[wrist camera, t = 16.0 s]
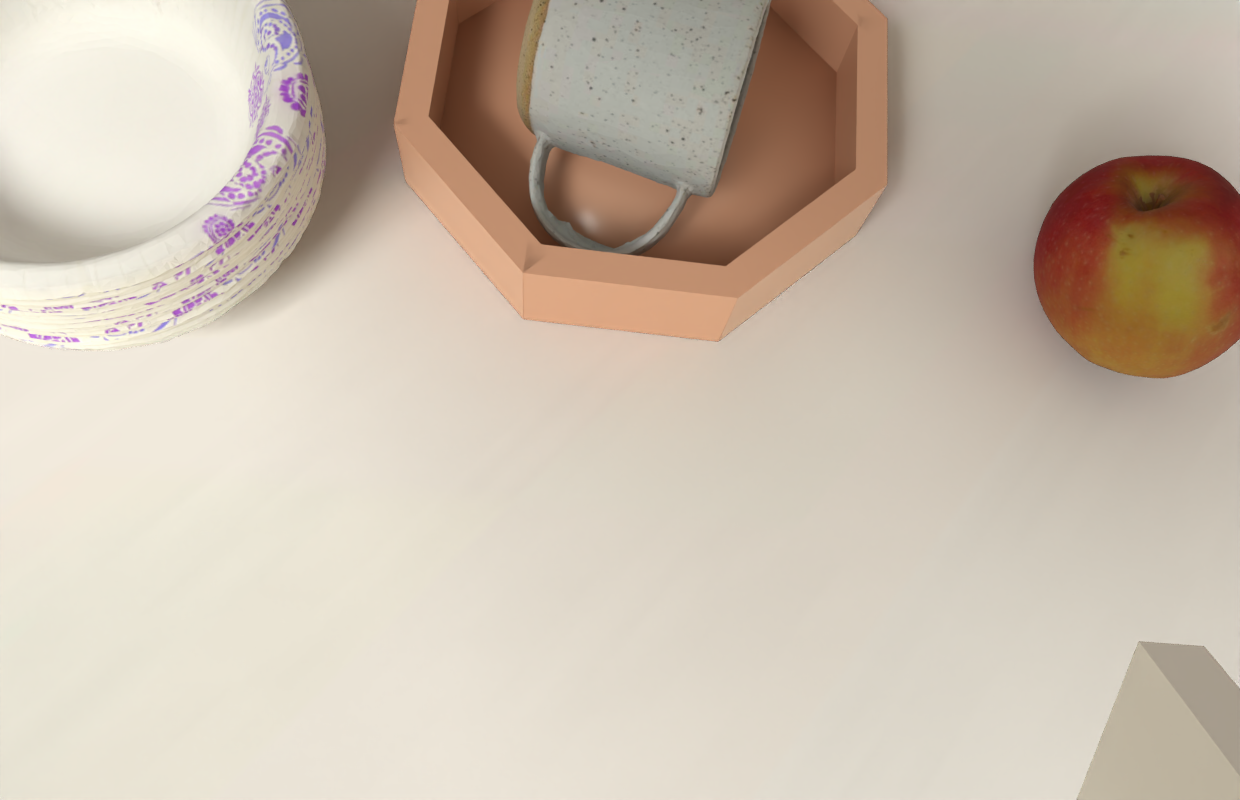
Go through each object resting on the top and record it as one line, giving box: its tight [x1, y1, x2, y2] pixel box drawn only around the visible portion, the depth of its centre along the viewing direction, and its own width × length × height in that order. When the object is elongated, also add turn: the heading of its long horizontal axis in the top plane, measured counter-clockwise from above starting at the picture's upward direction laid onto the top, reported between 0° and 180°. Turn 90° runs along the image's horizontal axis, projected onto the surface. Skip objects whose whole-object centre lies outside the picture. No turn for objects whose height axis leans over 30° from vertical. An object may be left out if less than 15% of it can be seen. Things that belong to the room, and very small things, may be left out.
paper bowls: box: [0, 0, 326, 351], centre depth 37 cm, size 15×15×8 cm
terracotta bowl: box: [394, 0, 887, 342], centre depth 42 cm, size 18×18×4 cm
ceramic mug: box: [516, 0, 771, 256], centre depth 38 cm, size 11×8×8 cm
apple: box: [1034, 156, 1240, 378], centre depth 39 cm, size 8×8×8 cm
